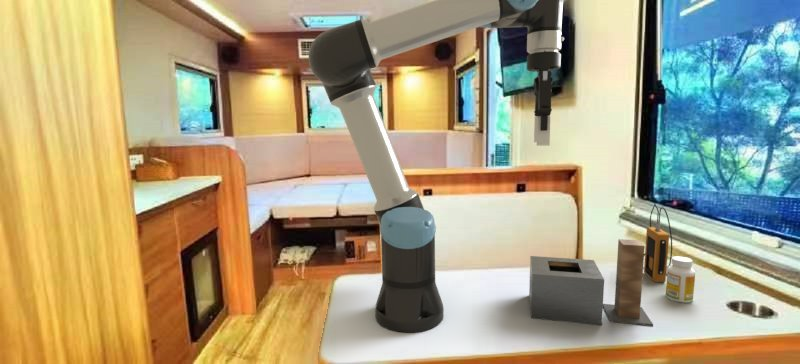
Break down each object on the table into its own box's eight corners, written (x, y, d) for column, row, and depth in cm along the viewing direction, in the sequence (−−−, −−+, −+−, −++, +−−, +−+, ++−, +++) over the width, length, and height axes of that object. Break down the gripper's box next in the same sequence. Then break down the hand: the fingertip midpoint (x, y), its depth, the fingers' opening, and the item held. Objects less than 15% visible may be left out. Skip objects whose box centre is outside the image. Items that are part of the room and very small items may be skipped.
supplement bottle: (690, 295, 98) (693, 256, 97) (695, 304, 93) (699, 264, 92) (663, 292, 100) (666, 254, 99) (667, 300, 96) (670, 260, 94)
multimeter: (704, 291, 101) (712, 211, 98) (659, 288, 103) (665, 210, 100) (677, 269, 115) (683, 199, 112) (638, 267, 117) (642, 199, 114)
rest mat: (610, 321, 86) (610, 319, 86) (602, 305, 94) (602, 303, 94) (652, 326, 84) (653, 324, 84) (641, 308, 92) (641, 307, 92)
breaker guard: (531, 317, 89) (532, 273, 87) (529, 295, 100) (530, 255, 99) (601, 325, 85) (604, 279, 84) (591, 300, 97) (593, 260, 95)
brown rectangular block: (618, 316, 88) (623, 244, 85) (614, 308, 92) (618, 239, 89) (639, 318, 87) (644, 245, 84) (634, 310, 90) (639, 240, 88)
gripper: (567, 42, 83) (563, 147, 86) (555, 59, 107) (553, 140, 110) (528, 44, 85) (526, 147, 88) (525, 61, 109) (523, 141, 112)
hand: (541, 143), depth 99 cm, fingers open, 13 cm apart
